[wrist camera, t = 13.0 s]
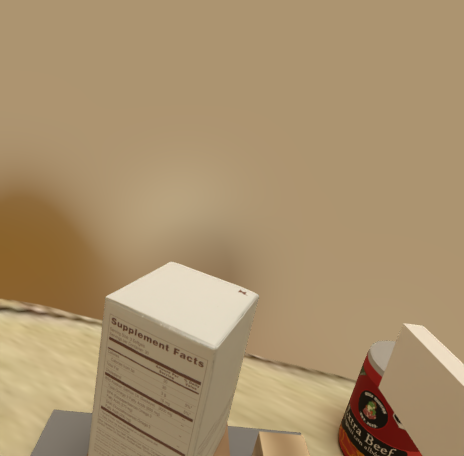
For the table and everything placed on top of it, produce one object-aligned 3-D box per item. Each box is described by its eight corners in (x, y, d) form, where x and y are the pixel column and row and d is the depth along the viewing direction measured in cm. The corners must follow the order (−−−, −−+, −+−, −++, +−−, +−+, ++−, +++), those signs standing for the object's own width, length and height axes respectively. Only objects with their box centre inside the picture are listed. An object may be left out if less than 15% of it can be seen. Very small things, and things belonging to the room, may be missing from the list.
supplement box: (149, 392, 29) (172, 258, 26) (226, 434, 27) (263, 292, 23) (82, 462, 23) (101, 293, 19) (177, 526, 20) (219, 347, 17)
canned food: (321, 431, 36) (353, 344, 33) (371, 414, 40) (403, 335, 37) (379, 504, 30) (425, 405, 27) (431, 475, 34) (476, 386, 31)
